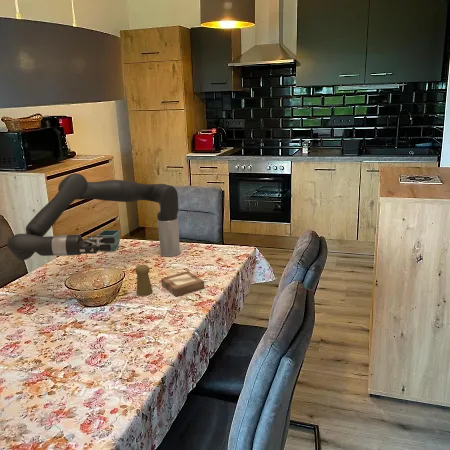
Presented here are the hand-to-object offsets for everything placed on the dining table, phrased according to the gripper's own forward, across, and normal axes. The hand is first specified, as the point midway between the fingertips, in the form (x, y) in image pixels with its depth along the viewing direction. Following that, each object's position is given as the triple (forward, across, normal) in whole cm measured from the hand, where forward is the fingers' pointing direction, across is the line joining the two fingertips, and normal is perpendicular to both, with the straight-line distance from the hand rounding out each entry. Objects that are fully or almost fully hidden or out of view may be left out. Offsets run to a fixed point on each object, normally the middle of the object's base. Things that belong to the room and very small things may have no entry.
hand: (112, 243), depth 161 cm
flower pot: (-12, +56, +20) cm, 60 cm away
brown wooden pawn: (+10, +1, +20) cm, 23 cm away
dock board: (+25, +3, +20) cm, 32 cm away
